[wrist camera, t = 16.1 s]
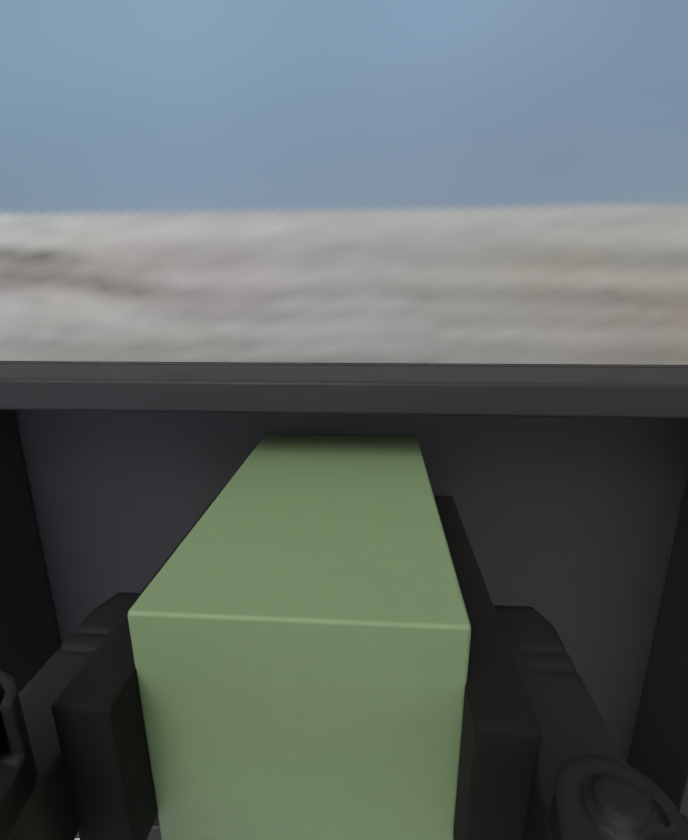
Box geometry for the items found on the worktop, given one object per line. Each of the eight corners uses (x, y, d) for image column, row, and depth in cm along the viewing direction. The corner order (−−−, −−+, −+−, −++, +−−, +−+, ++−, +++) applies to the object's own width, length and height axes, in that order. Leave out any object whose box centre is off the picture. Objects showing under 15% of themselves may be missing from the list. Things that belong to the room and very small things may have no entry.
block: (417, 435, 13) (472, 627, 6) (411, 570, 15) (451, 877, 7) (265, 433, 14) (124, 612, 6) (272, 565, 15) (162, 856, 7)
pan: (726, 364, 13) (828, 385, 10) (634, 784, 17) (687, 885, 14) (-7, 360, 14) (-104, 378, 11) (74, 749, 18) (18, 834, 15)
